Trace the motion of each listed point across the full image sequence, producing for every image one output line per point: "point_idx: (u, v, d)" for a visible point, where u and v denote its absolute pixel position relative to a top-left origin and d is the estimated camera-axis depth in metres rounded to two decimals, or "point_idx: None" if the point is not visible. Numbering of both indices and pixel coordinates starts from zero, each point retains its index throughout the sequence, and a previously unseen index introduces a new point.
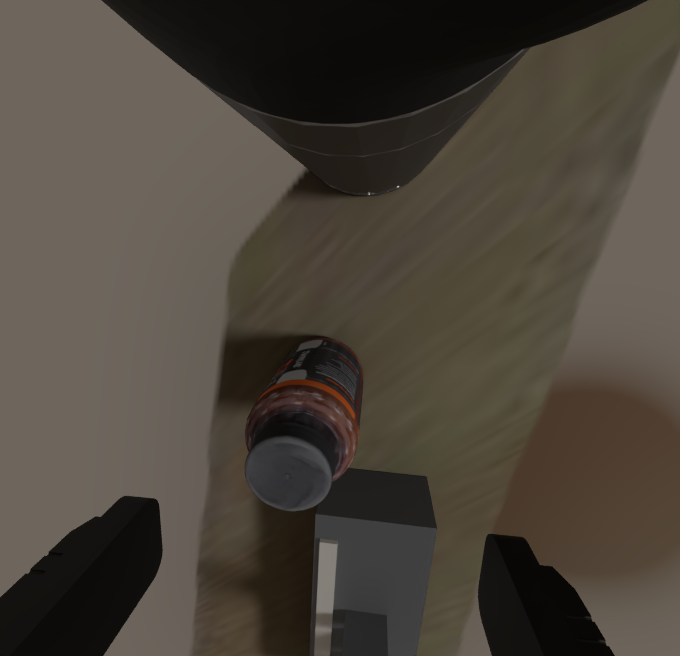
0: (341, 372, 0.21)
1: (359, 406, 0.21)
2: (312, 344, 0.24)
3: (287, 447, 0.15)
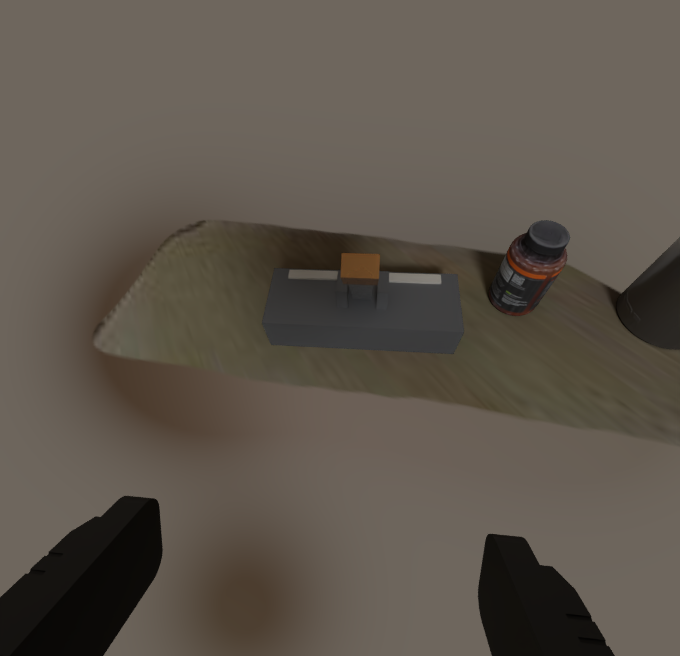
0: (551, 283, 0.41)
1: (538, 290, 0.40)
2: None
3: (565, 233, 0.37)
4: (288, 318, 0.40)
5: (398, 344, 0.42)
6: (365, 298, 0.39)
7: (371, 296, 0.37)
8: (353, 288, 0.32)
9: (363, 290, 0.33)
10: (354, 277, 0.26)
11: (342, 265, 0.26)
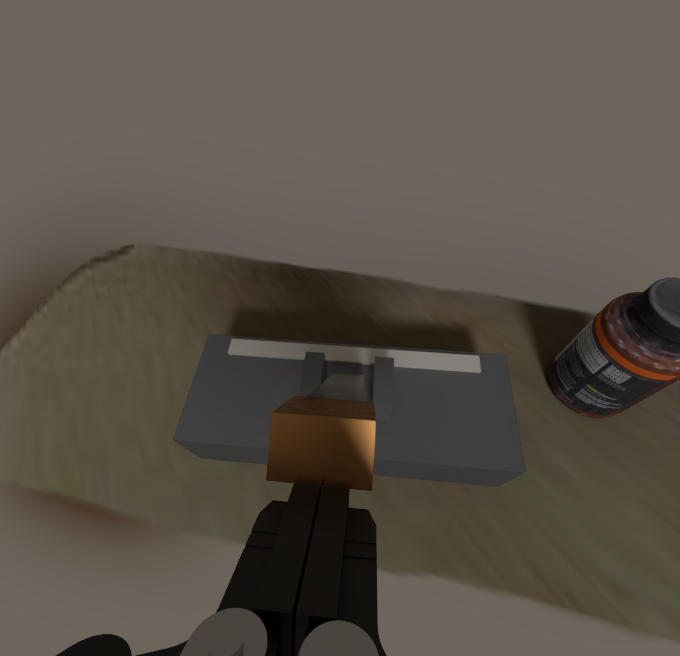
0: None
1: (649, 392, 0.23)
2: None
3: None
4: (220, 432, 0.23)
5: (407, 473, 0.25)
6: None
7: None
8: None
9: None
10: (304, 480, 0.10)
11: (272, 446, 0.10)
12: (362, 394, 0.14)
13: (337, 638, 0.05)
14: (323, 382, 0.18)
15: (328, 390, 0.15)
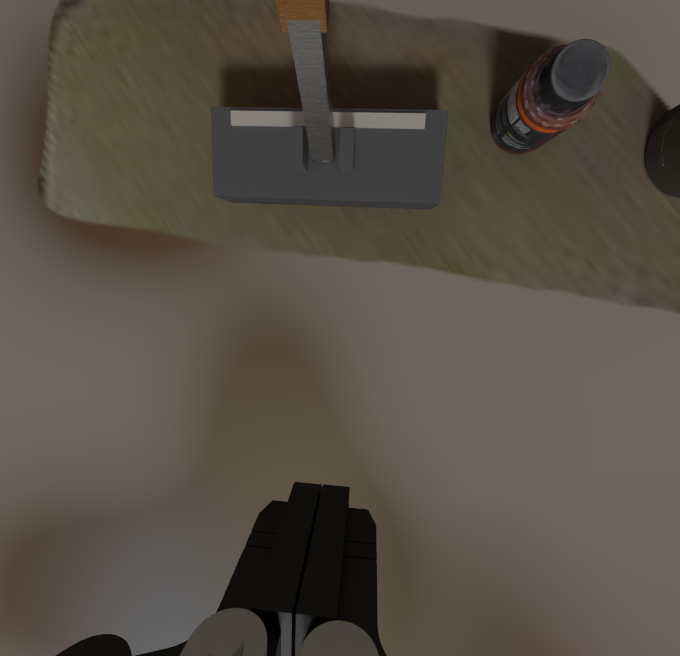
0: None
1: (545, 138, 0.32)
2: None
3: (603, 69, 0.25)
4: (242, 189, 0.35)
5: (369, 205, 0.38)
6: (325, 152, 0.32)
7: (330, 133, 0.30)
8: (300, 68, 0.24)
9: (314, 83, 0.25)
10: None
11: None
12: (325, 39, 0.24)
13: (337, 638, 0.05)
14: None
15: None
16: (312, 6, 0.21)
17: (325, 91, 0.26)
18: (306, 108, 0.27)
